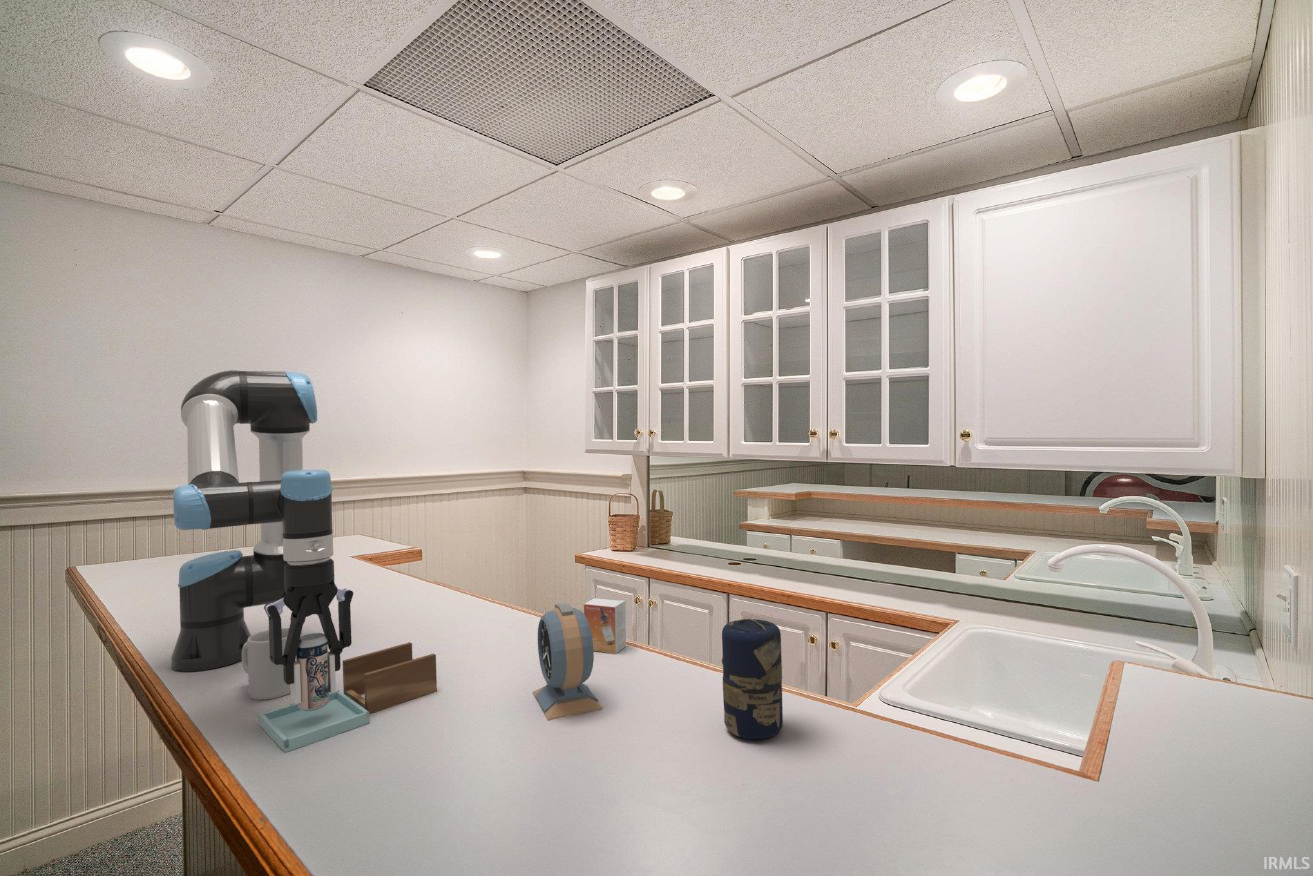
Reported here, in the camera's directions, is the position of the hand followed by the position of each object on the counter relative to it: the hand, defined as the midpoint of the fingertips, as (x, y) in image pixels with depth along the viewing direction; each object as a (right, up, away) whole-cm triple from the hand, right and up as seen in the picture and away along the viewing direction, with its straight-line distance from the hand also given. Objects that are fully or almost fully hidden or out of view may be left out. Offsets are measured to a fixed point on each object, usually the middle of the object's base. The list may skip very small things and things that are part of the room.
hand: (313, 695), depth 107 cm
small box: (+47, -4, +34) cm, 58 cm away
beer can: (0, -2, 0) cm, 2 cm away
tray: (0, -5, 0) cm, 5 cm away
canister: (+74, -3, -6) cm, 75 cm away
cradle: (+8, -5, +12) cm, 15 cm away
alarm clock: (+42, -4, +7) cm, 43 cm away
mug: (-17, -5, +15) cm, 24 cm away
